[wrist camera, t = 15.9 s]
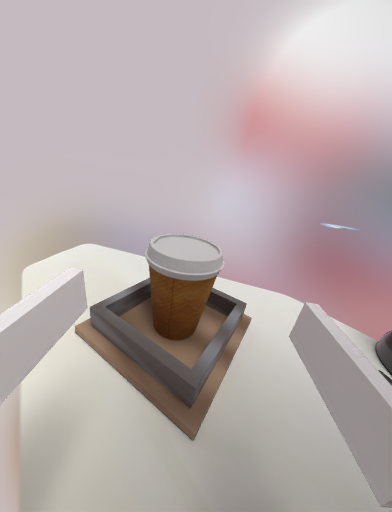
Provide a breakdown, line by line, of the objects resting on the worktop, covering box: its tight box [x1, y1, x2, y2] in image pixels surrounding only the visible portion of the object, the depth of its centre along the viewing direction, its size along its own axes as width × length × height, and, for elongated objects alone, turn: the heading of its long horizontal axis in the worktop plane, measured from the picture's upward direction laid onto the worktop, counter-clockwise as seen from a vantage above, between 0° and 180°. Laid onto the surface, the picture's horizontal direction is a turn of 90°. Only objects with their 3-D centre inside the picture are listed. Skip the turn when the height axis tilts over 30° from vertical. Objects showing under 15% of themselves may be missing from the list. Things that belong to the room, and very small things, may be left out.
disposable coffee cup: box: [145, 234, 224, 340], centre depth 24 cm, size 10×10×12 cm
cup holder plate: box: [75, 278, 251, 440], centre depth 26 cm, size 18×18×4 cm
